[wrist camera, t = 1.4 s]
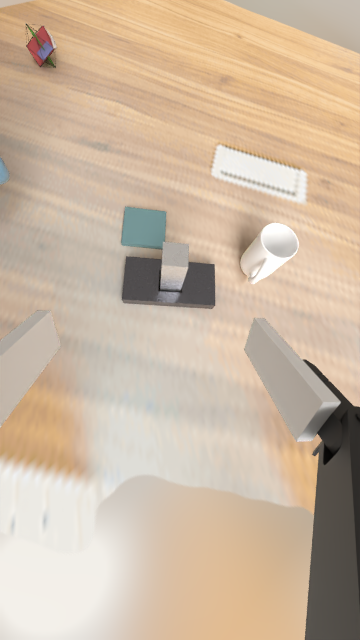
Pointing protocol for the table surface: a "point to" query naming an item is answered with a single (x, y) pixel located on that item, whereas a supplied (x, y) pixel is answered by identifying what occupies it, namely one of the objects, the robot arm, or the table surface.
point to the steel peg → (174, 266)
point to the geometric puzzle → (41, 45)
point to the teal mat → (144, 228)
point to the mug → (269, 251)
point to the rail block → (145, 285)
